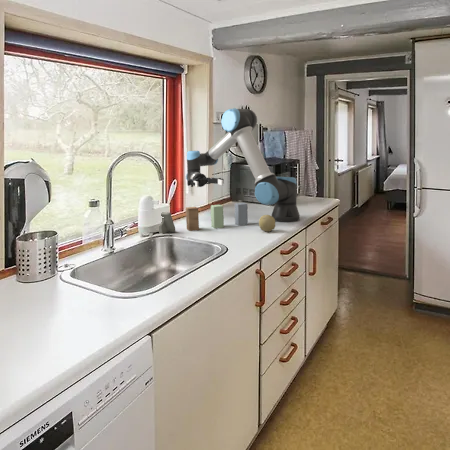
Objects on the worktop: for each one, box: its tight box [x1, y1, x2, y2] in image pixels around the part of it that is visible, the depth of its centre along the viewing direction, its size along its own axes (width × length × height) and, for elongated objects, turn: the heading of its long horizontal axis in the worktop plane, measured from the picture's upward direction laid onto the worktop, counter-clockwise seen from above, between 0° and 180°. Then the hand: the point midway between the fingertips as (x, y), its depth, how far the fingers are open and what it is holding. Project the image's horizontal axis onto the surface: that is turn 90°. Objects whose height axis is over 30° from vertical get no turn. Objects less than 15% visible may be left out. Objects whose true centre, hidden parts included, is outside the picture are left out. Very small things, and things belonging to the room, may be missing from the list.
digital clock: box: [158, 210, 176, 234], centre depth 217 cm, size 16×9×11 cm, turn 47°
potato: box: [258, 214, 276, 232], centre depth 211 cm, size 8×8×8 cm
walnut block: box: [185, 206, 200, 232], centre depth 219 cm, size 5×5×11 cm
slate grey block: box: [234, 202, 249, 227], centre depth 228 cm, size 5×5×11 cm
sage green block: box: [210, 204, 225, 229], centre depth 223 cm, size 5×5×11 cm
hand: (210, 183), depth 229 cm, fingers open, 13 cm apart
